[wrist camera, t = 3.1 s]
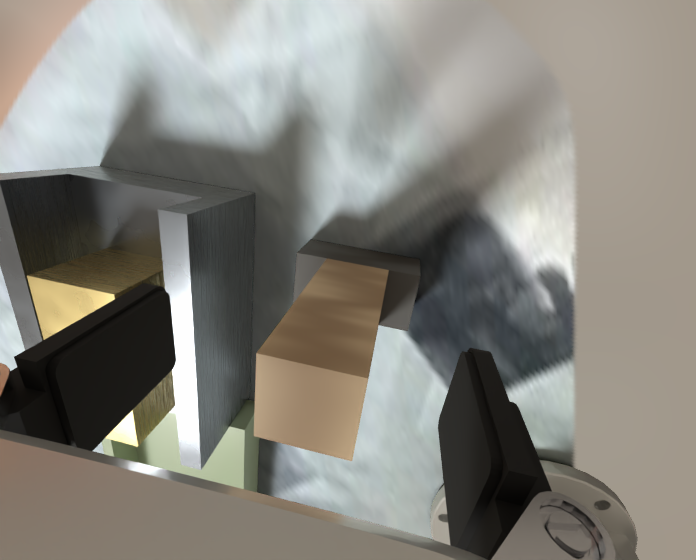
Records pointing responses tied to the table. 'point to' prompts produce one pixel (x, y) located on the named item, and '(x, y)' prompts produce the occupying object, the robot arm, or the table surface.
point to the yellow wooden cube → (88, 285)
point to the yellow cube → (146, 414)
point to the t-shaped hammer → (329, 345)
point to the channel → (178, 267)
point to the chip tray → (224, 463)
